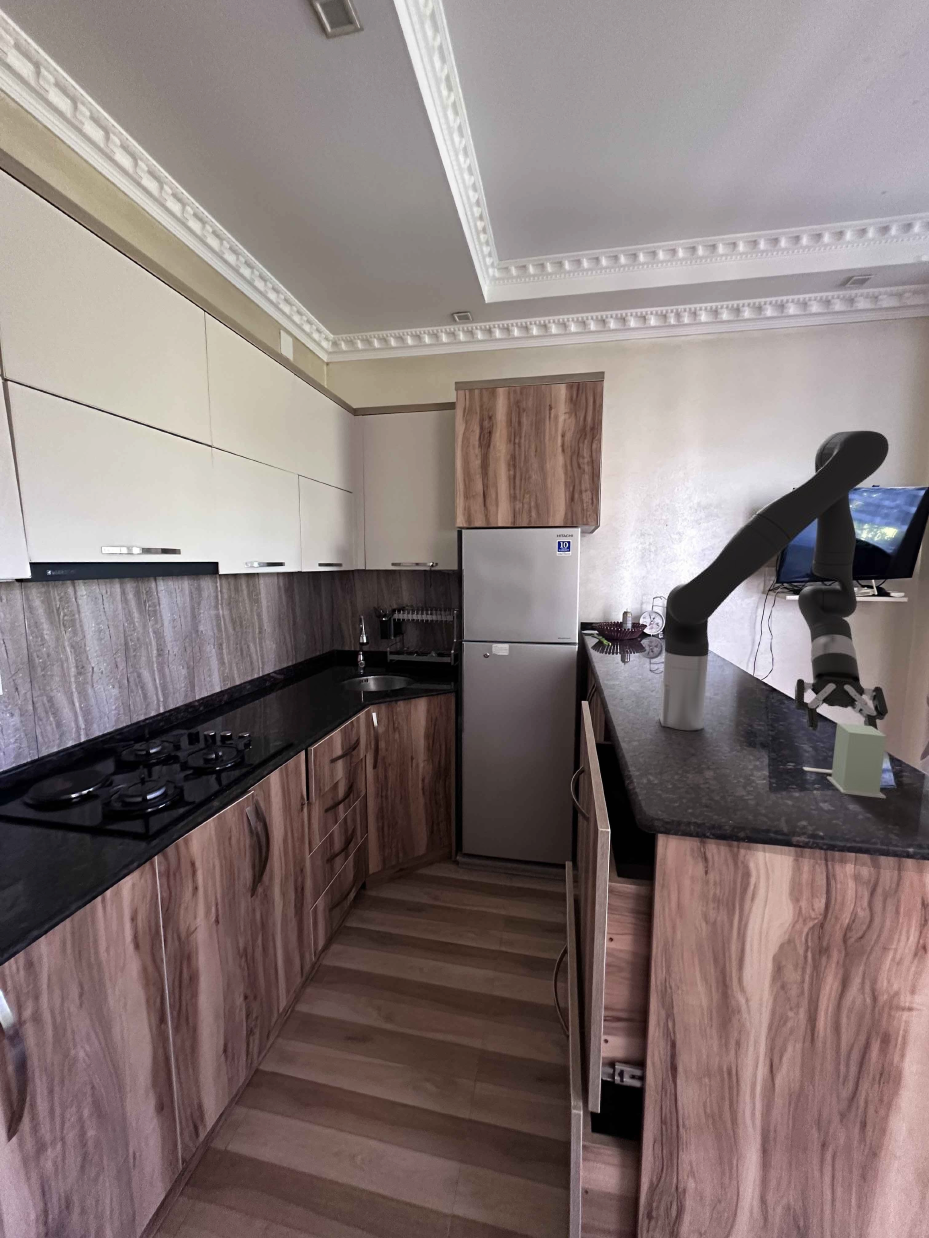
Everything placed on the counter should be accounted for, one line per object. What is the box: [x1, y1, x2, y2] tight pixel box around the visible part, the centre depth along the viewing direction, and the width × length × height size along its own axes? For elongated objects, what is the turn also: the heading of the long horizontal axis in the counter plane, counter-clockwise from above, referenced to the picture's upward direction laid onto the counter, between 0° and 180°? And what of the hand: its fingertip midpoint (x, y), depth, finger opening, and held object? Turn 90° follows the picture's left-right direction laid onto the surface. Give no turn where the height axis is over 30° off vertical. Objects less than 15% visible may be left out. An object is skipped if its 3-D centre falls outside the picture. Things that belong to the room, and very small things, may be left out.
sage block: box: [831, 722, 887, 795], centre depth 83 cm, size 5×5×10 cm
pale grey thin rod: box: [802, 766, 884, 780], centre depth 89 cm, size 12×1×1 cm, turn 74°
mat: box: [826, 776, 887, 799], centre depth 83 cm, size 6×6×1 cm
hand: (842, 732), depth 92 cm, fingers open, 8 cm apart
